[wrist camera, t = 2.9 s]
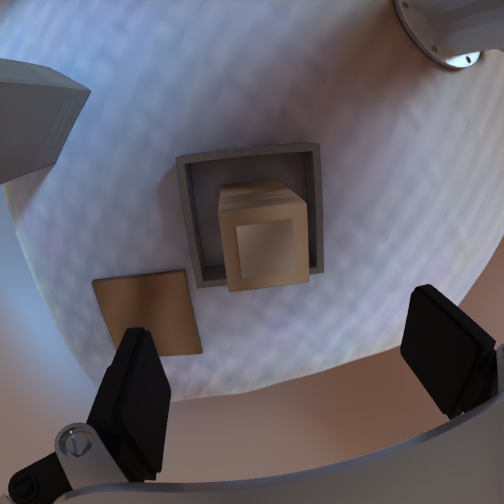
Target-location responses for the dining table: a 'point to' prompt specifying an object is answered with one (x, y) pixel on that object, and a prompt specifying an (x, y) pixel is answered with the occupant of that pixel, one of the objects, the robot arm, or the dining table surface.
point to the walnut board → (151, 310)
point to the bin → (310, 150)
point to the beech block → (263, 235)
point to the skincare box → (34, 116)
